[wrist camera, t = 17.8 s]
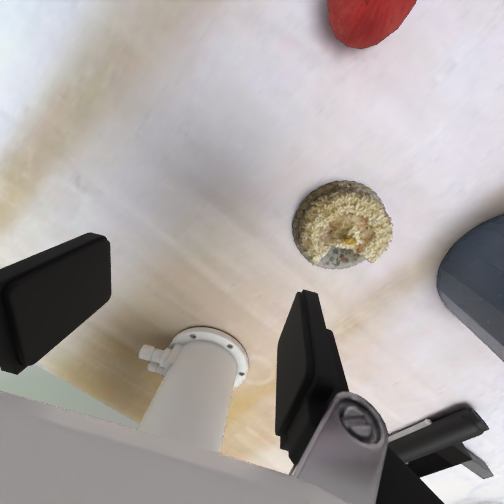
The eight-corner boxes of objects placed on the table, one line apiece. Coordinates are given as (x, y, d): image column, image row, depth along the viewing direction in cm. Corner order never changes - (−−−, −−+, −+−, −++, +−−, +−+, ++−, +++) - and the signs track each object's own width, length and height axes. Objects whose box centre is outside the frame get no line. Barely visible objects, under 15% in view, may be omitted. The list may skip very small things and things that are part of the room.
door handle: (539, 470, 34) (478, 421, 30) (415, 506, 41) (354, 471, 38) (518, 443, 37) (460, 396, 33) (406, 481, 44) (348, 446, 41)
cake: (286, 190, 26) (286, 194, 20) (383, 171, 24) (411, 170, 19) (298, 273, 28) (302, 294, 23) (386, 261, 27) (411, 282, 22)
